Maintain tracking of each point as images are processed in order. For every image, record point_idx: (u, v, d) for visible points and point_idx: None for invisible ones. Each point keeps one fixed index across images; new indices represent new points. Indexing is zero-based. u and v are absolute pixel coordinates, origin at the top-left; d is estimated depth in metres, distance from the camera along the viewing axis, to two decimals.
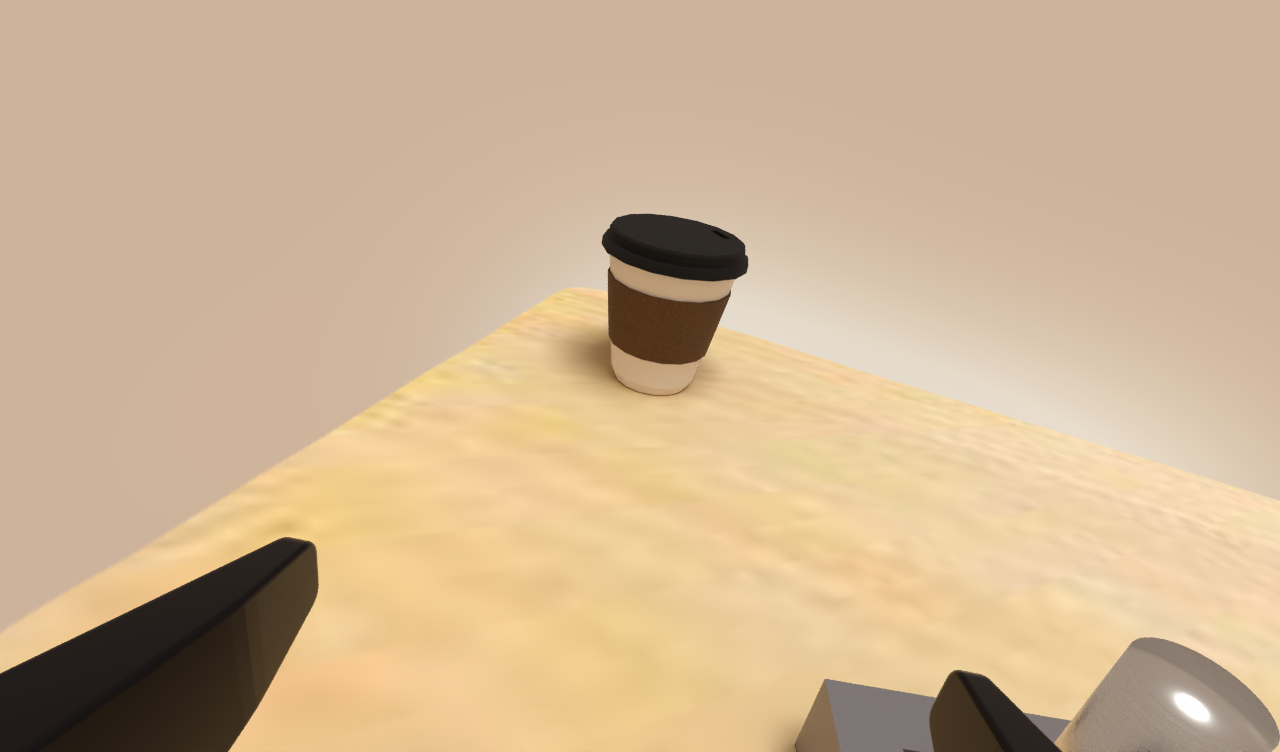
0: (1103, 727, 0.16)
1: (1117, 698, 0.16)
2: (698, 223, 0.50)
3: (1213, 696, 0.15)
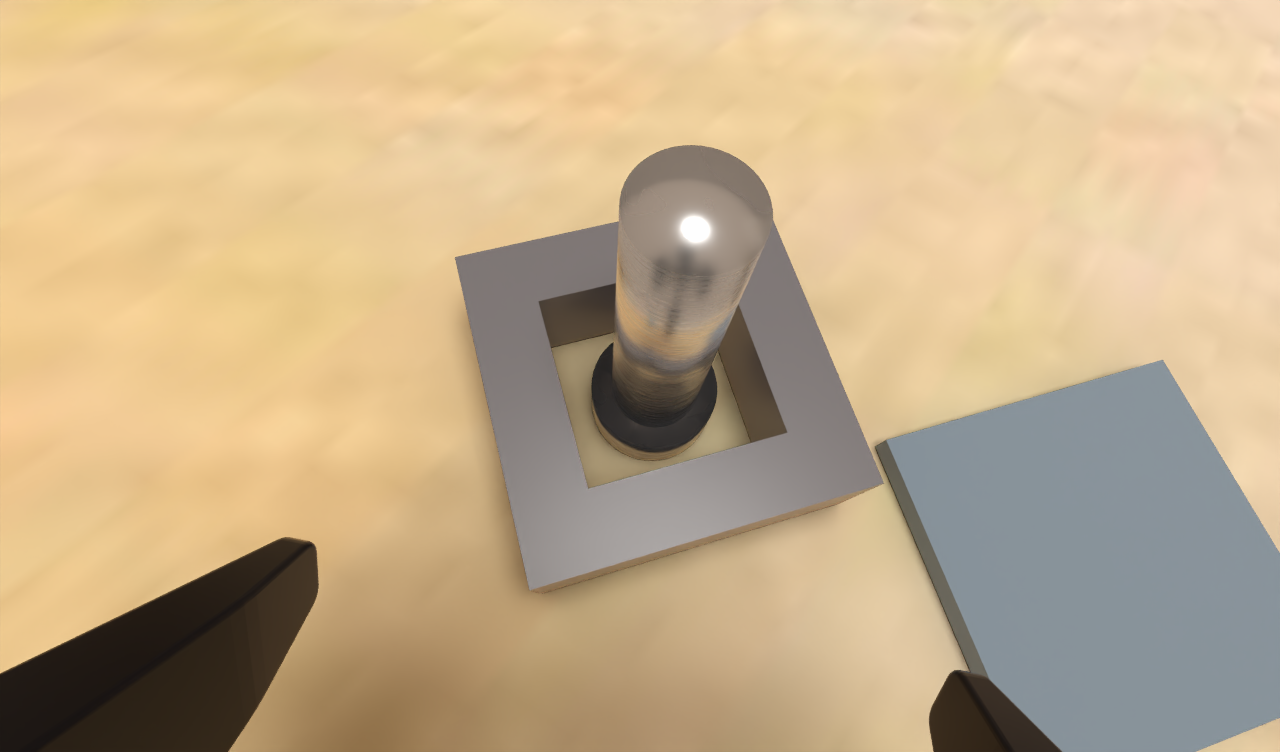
0: (620, 272, 0.14)
1: (619, 243, 0.13)
2: None
3: (709, 211, 0.12)
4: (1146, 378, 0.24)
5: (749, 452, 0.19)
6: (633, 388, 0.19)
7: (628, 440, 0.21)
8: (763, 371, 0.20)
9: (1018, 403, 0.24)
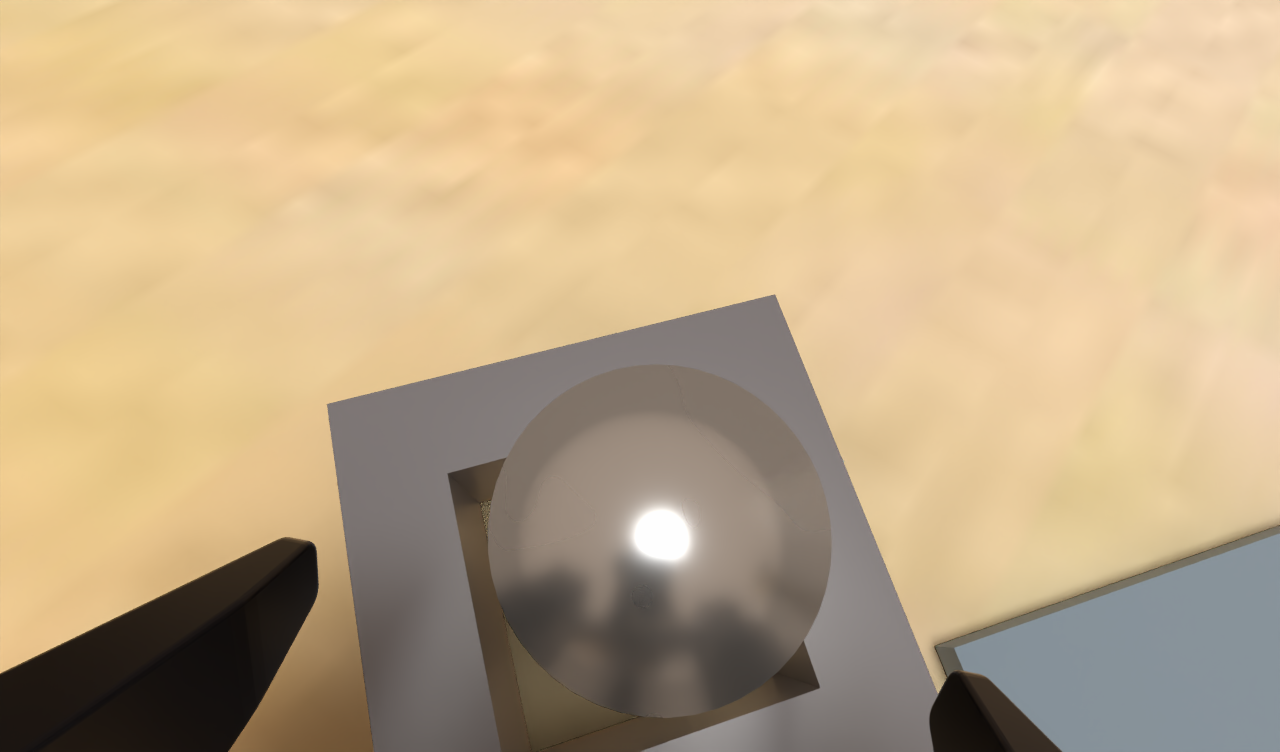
0: None
1: None
2: None
3: (690, 532, 0.06)
4: None
5: (762, 724, 0.13)
6: None
7: None
8: None
9: (1135, 586, 0.17)
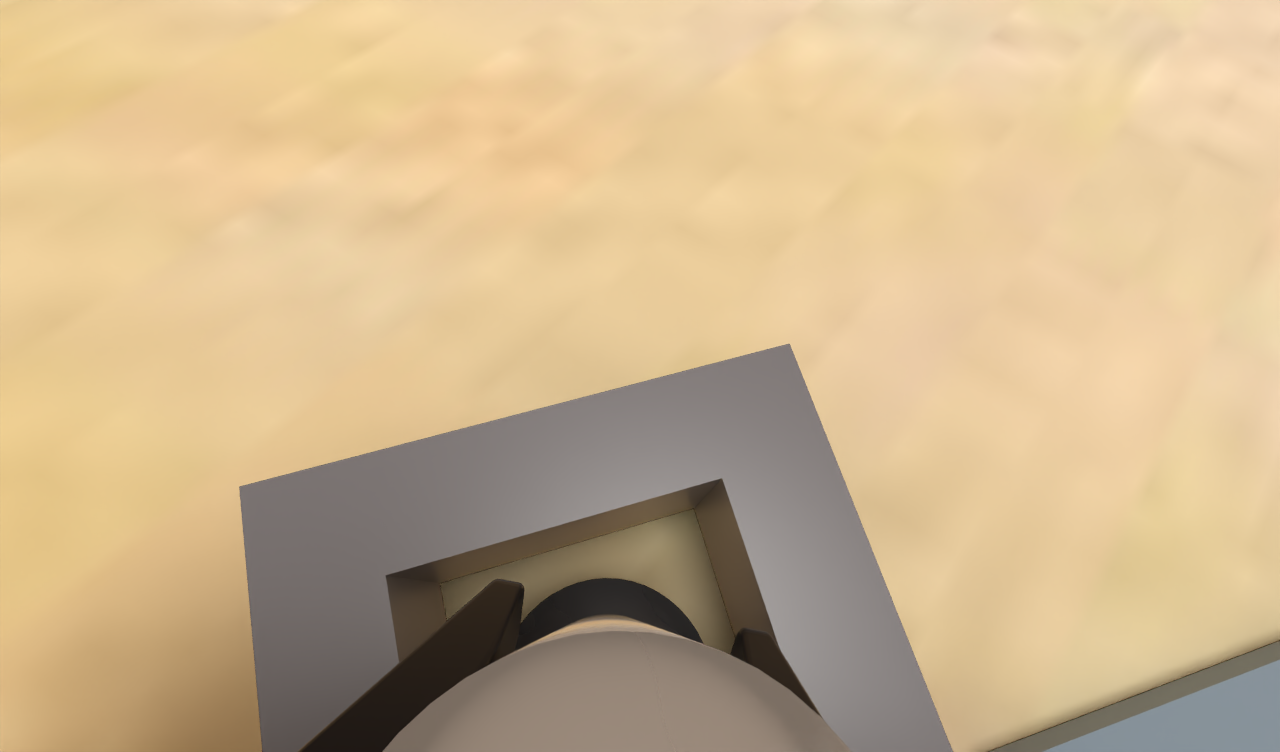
0: None
1: None
2: None
3: None
4: None
5: None
6: None
7: None
8: None
9: (1216, 687, 0.14)
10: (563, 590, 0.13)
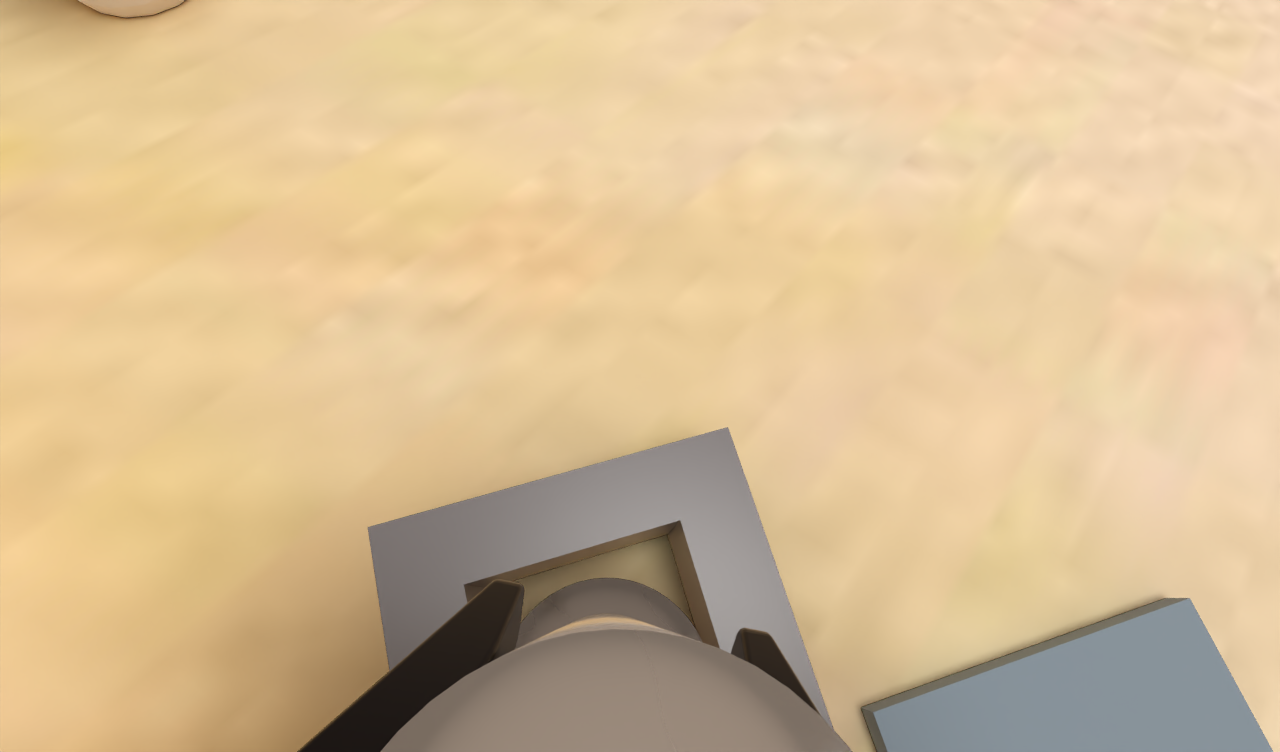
0: None
1: None
2: None
3: None
4: (1171, 623, 0.21)
5: None
6: None
7: None
8: None
9: (1025, 659, 0.21)
10: (563, 590, 0.13)
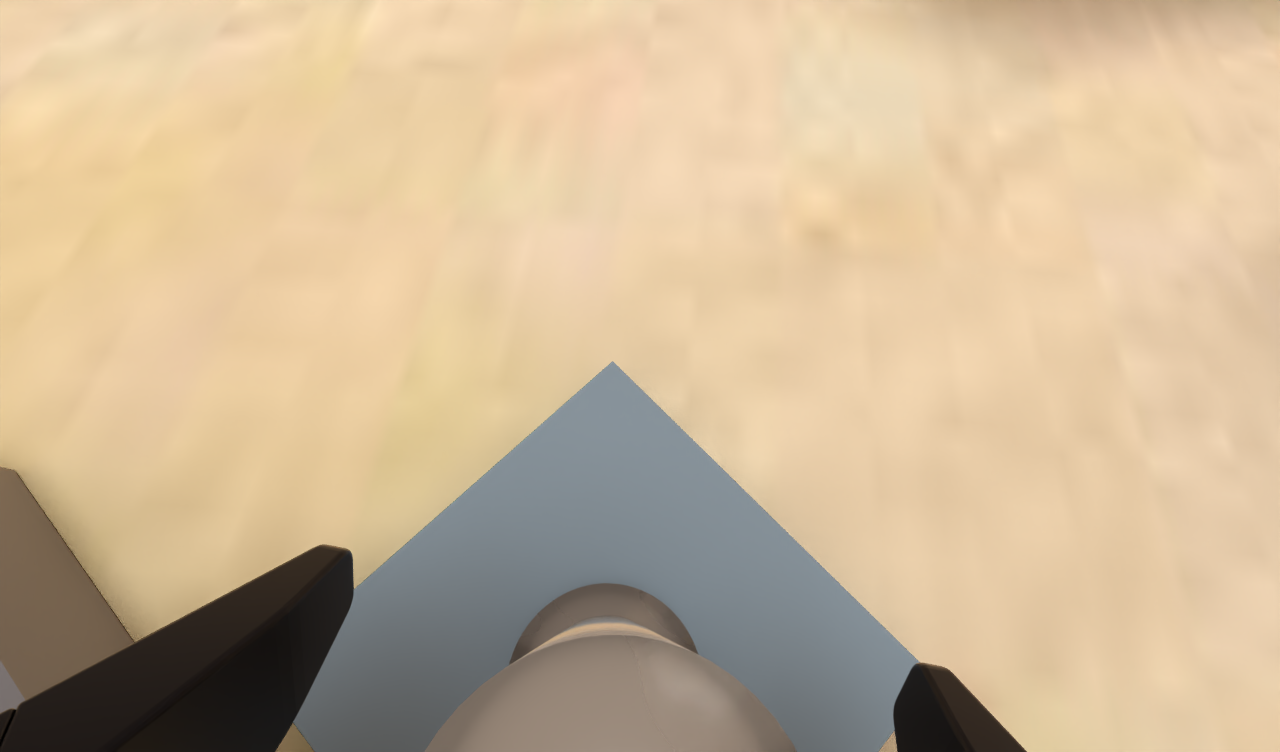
0: None
1: None
2: None
3: None
4: (597, 396, 0.18)
5: None
6: None
7: None
8: None
9: (439, 517, 0.17)
10: (567, 594, 0.15)
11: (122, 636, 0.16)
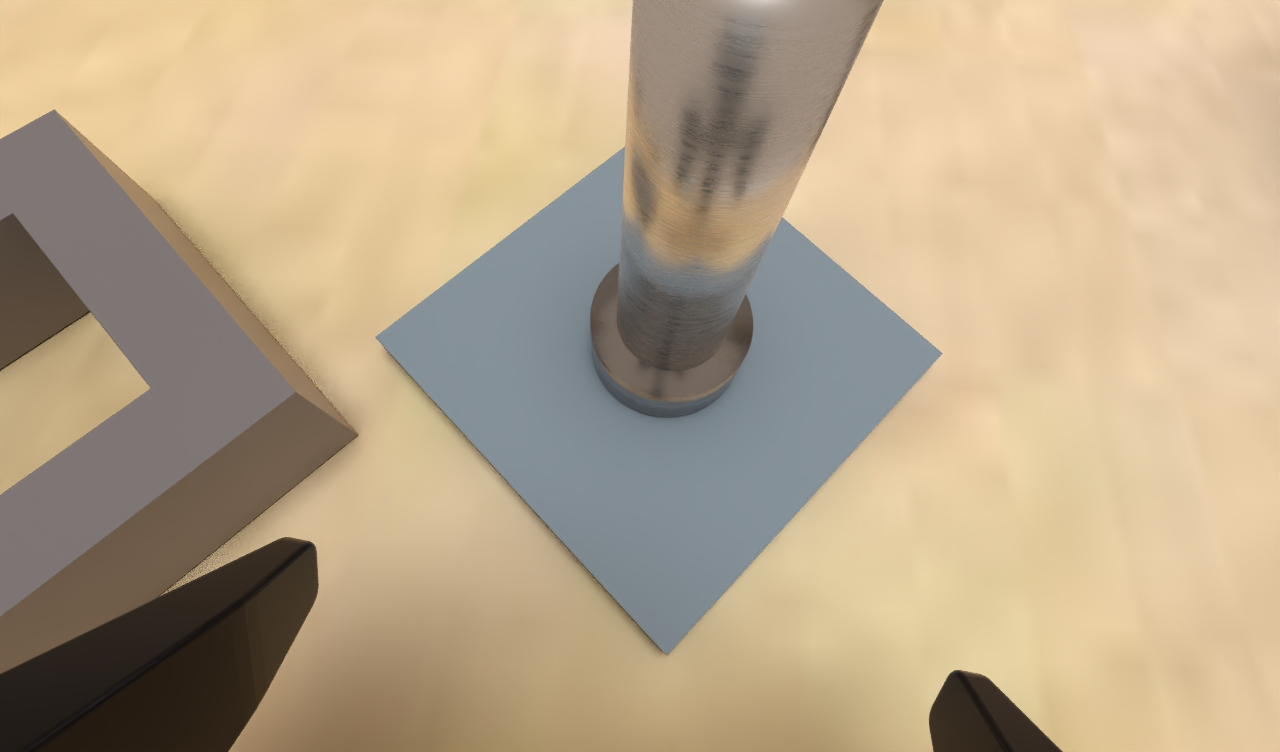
0: (636, 76, 0.09)
1: (636, 8, 0.08)
2: None
3: None
4: None
5: (100, 436, 0.14)
6: (647, 305, 0.14)
7: (638, 386, 0.16)
8: (104, 328, 0.15)
9: (520, 228, 0.20)
10: None
11: (256, 318, 0.19)
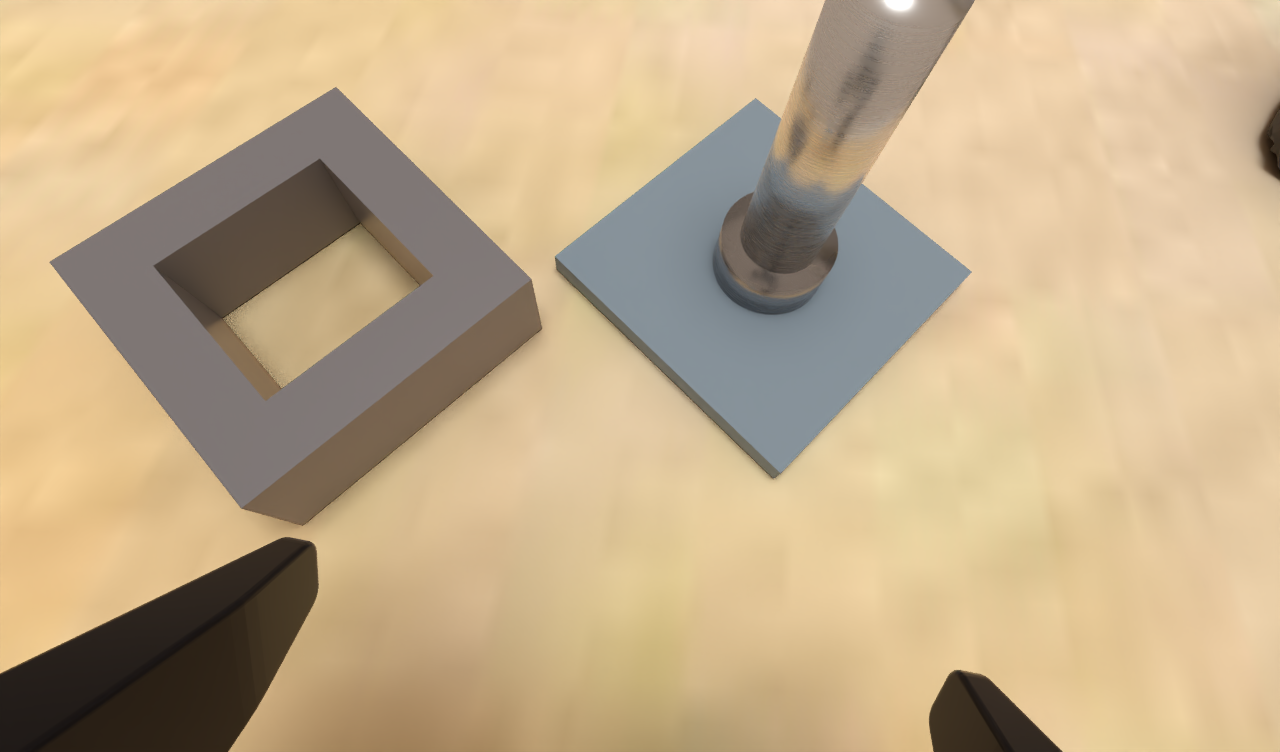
0: (820, 55, 0.15)
1: (830, 17, 0.14)
2: None
3: None
4: (747, 117, 0.28)
5: (404, 306, 0.21)
6: (782, 215, 0.20)
7: (759, 284, 0.23)
8: (394, 236, 0.22)
9: (654, 180, 0.27)
10: (752, 193, 0.24)
11: None
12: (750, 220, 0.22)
